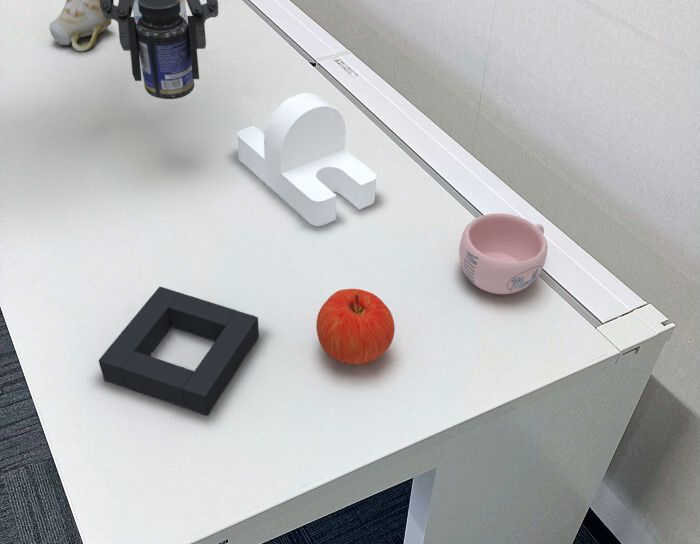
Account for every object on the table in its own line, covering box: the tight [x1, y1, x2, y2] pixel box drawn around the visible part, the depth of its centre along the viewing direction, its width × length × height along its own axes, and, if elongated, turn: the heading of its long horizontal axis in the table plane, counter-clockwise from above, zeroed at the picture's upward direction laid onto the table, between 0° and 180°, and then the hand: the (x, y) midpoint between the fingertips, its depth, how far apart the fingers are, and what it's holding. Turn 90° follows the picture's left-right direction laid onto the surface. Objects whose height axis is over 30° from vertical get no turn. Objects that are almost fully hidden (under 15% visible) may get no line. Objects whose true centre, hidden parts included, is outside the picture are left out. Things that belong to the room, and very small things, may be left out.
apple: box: [315, 288, 396, 366], centre depth 80 cm, size 8×8×8 cm
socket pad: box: [98, 286, 260, 416], centre depth 80 cm, size 12×12×3 cm
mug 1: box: [49, 0, 113, 52], centre depth 126 cm, size 8×10×10 cm
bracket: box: [236, 92, 377, 227], centre depth 99 cm, size 19×10×11 cm, turn 37°
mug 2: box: [458, 212, 548, 295], centre depth 90 cm, size 12×10×6 cm
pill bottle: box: [136, 0, 195, 100], centre depth 92 cm, size 6×6×11 cm
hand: (166, 76), depth 91 cm, fingers closed on pill bottle, 6 cm apart
